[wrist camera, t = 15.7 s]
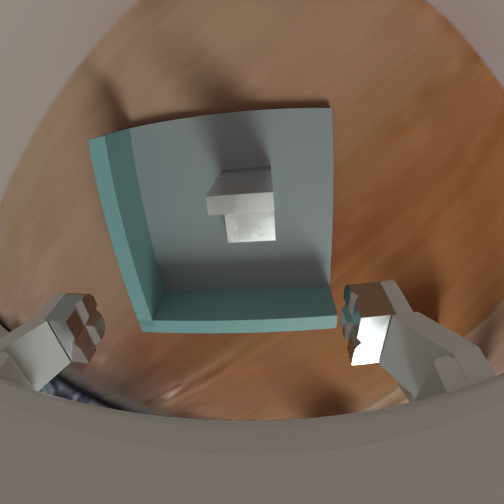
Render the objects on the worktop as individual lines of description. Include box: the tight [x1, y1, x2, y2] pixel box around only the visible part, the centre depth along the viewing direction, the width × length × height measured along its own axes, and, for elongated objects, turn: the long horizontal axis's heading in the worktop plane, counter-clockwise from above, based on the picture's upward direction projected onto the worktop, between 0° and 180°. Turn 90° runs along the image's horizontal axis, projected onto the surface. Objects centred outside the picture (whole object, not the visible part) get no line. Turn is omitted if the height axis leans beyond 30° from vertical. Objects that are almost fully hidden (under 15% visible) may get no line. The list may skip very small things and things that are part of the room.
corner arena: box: [88, 108, 338, 333], centre depth 24 cm, size 18×18×5 cm
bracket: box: [206, 167, 276, 243], centre depth 22 cm, size 6×4×7 cm, turn 5°
